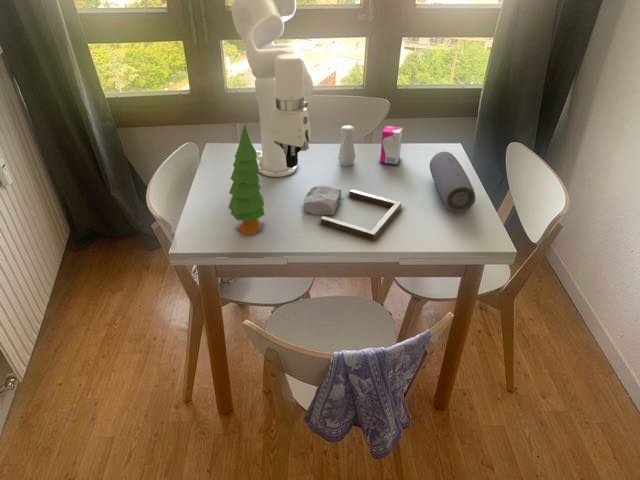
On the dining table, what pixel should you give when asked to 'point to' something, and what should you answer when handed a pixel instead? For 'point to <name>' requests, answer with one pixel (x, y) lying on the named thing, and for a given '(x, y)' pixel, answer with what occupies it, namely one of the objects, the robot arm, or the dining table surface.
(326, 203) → the stone block
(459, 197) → the bluetooth speaker
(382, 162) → the supplement box
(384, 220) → the frame
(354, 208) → the dining table surface
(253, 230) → the decorative tree
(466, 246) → the dining table surface
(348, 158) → the salt shaker
